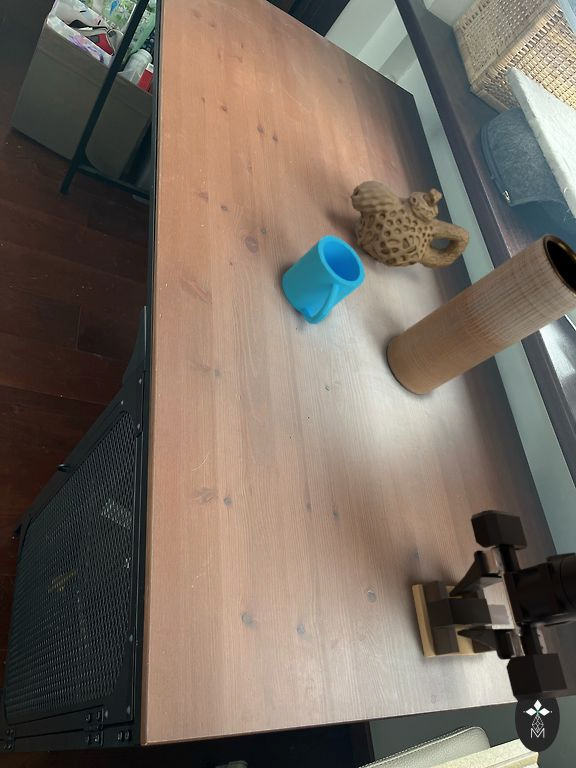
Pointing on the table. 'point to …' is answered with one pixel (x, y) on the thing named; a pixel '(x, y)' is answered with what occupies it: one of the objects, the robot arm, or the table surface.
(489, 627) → the rack
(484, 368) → the table surface
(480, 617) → the knife
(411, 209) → the teapot
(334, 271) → the mug
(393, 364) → the vase
